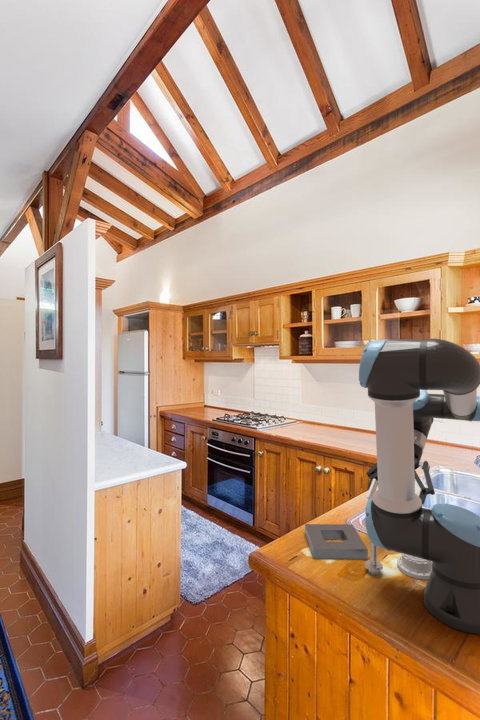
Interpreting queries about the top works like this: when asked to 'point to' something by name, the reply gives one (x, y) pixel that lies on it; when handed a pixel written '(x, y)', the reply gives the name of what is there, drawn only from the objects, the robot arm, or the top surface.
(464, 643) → the top surface
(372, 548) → the screw
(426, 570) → the mechanical component
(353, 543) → the socket plate
